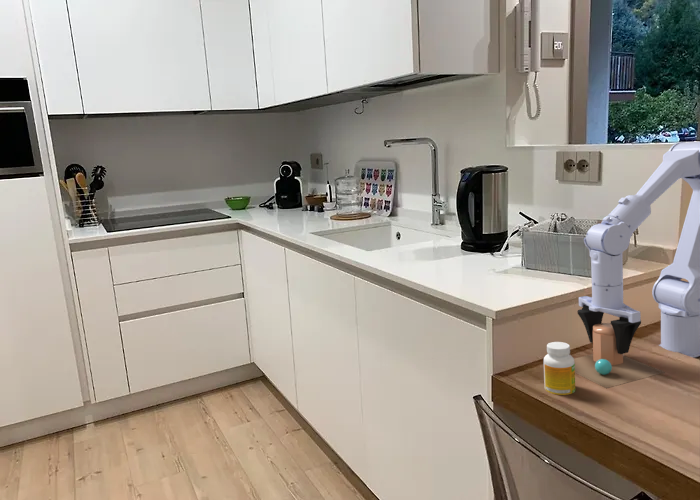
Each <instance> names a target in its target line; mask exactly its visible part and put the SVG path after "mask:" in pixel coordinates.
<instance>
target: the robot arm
mask: <svg viewBox="0 0 700 500" xmlns="http://www.w3.org/2000/svg"><path fill="white" fill-rule="evenodd" d="M679 179H682V180H683V181H685V183H687V184H688V185H689V186H690V188H691V189H692V193H691V197H690V200H689V204H688V207H687V211H686V215H685V218H684V223H683V224H682V225H683V226H682V229H681V232H680V236H679V239H678V243H677V247H676V251H675V254H674V257H673V261H672V263H670V264H669V265H667V266H666V267H664V268H663V269H662V270H661V271H660V274H659V277H658V279H657V280H656V281H655V282H654V284H653V286H652V291H651V293H652V298H653V300H654V301H655V303H656V304H658V309H660V344H658V346H659V347H661V348H662V349H665V350H667V351H669V352H673V353H679V354H681V355H684V356H685V355H686V356H688V357H690V358H693V359H694V358H699V357H700V141H688V142H686V141H679V142H676V143H674V144H673V145H671V146H670V148H669V150H668V151H665V153H663V155H662V162H661V163H660V164H659V165H658V167H657V168H656V169H655V170H654V171H653V173H652V174H651V175H650V177H649V178H648V179H647V180H646V181H645V183H644V184H643V185H642V186H641V187H640V189H639V190H638V191H637V192H636V194H629V195H626V196H625V197H621V198H619V200H618V201H617V203H618V204H617V205H616V206H615V207H614V208H613V210H611V212H609V213H608V214H607V216H604V217H603V218H602V221H601V223H597V224H594V225H592V226H591V227H590V228H589V229H588V230H587V232H586V235H585V237H584V238H583V243H584V245H585V247H586V249H587V250H588V252H589V257H590V263H591V264H590V265H591V266H590V269H591V275H590V276H591V296H587V295H585V296H579V297H578V306H579V307H580V308H581V309H578V310H577V315H578V316H579V318H580V320H581V321H582V322H583V326H584V327H585V331H586V333H587V337H588V340H589V343H591V344H593V326H594V325H596V324H600V323H603V318H604V314H608V315H611V316H614V317H617V318H618V319H614V320H610V323H611V325H612V327H613V329H614V332H615V337H616V347H617V352H618V354H623V355H624V354H628V353H629V352H630V348H631V343H632V341H633V338H634V336H635V334H636V332H637V330H638V328H639V327H640V326H641V324H642V320H641V319H642V317H641V311H639V310H637V309H634V308H633V307H631V306H629V305H627V304H625V303H624V266H623V265H624V263H623V261H624V260H623V255H624V254H623V253H624V251H626V250H628V248H629V246H630V242H631V238H632V237H633V234H634V232H635V231H637V229H638V228H639V227H640V226H641V225H642V223H644V221H645V220H646V219H648V217H650V215H651V213H652V208H651V207H652V206H651V205H652V204H653V203H654V202H655V201H656V200H658V199H659V198H660V197H661V196H662V195H663V194H664V193H665V192H667V190H669V188H671V186H672V185H674V184H675V183H676V182H677V181H679ZM682 279H683V280H682ZM686 280H687V281H686Z"/></svg>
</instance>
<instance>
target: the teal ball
mask: <svg viewBox="0 0 700 500" xmlns="http://www.w3.org/2000/svg"><path fill="white" fill-rule="evenodd" d="M595 369H596V371H597V372H598V373H599V374H602V375H606V374H609V373H610V372H611V370H612V365H611V363H610V362H609V361H608V360H606V359H600V360H598V361H597V362H596V363H595Z"/></svg>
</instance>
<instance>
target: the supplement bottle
mask: <svg viewBox="0 0 700 500" xmlns="http://www.w3.org/2000/svg"><path fill="white" fill-rule="evenodd" d="M546 353H547V354H546V355H545V356H544V357H543V381H544V383H543V384H544V390H545V391H546V392H548V393H549V394H552V395H558V396H566V395H572V394H574V393H575V392H576V373H575V362H574V357H573V355H571V346H570V344H568V343H566V342H565V341H564V342H562V341H553V342H548V343H547V344H546Z"/></svg>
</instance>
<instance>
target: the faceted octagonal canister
mask: <svg viewBox="0 0 700 500" xmlns="http://www.w3.org/2000/svg"><path fill="white" fill-rule="evenodd" d="M592 351H593V352H592V354H593V361H596V362H597V361H598V360H600V359H606V360H608V361H609V362H610V363H611V365H617V364H621V363H623V355H624V354H618V352H617V347H616V337H615V332H614V329H613V327H612V325H611V322H602V323H600V324H596V325H594V326H593V343H592Z"/></svg>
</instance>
